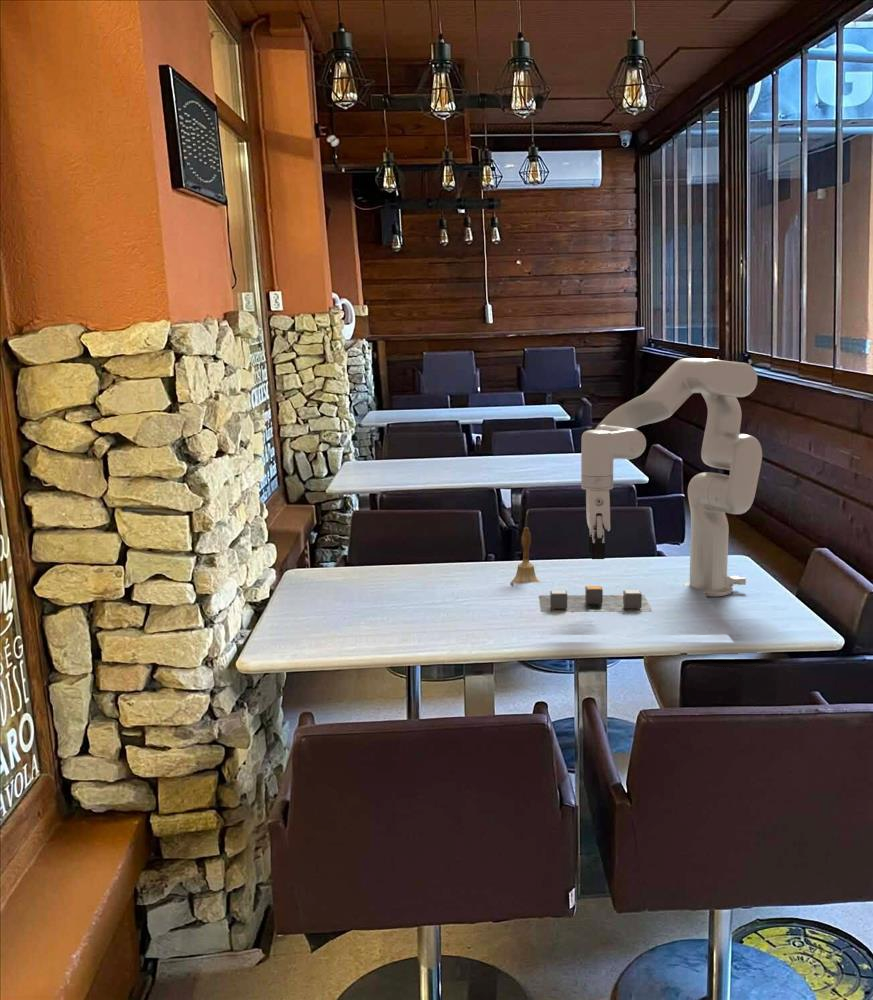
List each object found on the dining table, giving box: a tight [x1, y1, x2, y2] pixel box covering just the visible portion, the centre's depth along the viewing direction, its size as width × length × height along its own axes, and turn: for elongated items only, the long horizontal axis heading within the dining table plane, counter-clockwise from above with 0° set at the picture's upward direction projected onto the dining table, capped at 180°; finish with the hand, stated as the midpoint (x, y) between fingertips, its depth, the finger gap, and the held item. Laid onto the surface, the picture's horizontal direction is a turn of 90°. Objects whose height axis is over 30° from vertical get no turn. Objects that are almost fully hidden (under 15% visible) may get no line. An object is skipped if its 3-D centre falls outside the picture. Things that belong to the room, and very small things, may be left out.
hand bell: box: [510, 526, 541, 586], centre depth 260 cm, size 8×8×16 cm
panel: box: [538, 594, 653, 613], centre depth 237 cm, size 27×14×2 cm, turn 86°
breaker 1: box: [549, 590, 568, 608], centre depth 233 cm, size 4×3×4 cm
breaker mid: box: [584, 585, 604, 603], centre depth 236 cm, size 4×3×4 cm
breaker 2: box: [622, 589, 643, 608], centre depth 231 cm, size 4×3×4 cm
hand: (596, 555), depth 228 cm, fingers open, 5 cm apart
